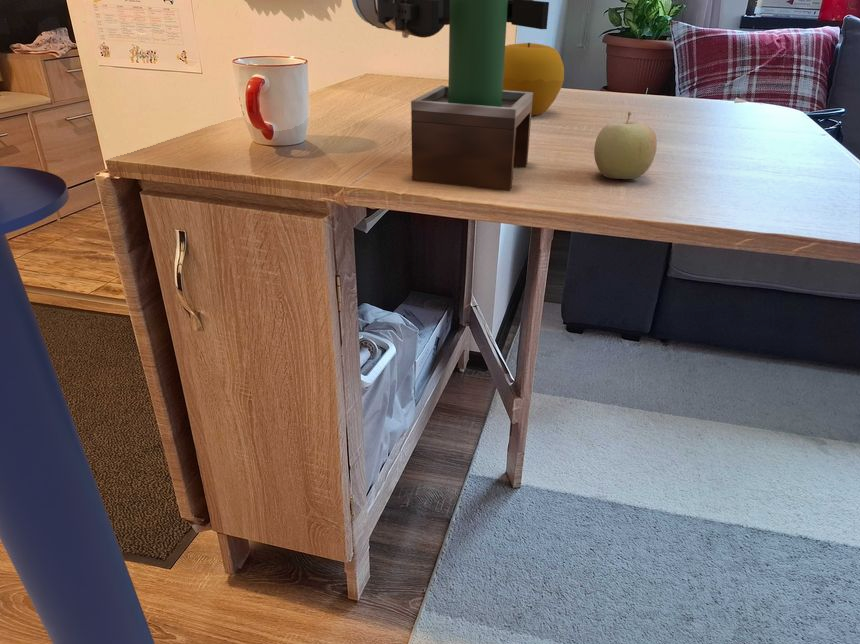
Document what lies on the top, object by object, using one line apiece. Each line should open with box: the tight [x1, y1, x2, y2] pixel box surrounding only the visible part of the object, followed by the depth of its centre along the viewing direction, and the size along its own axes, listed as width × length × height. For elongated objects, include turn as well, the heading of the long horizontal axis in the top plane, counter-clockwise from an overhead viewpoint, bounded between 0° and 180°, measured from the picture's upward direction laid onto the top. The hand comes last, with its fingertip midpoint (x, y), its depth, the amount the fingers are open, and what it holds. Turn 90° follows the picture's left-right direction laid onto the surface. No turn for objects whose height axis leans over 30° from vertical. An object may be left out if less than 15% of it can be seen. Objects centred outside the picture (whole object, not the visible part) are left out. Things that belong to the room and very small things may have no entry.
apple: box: [503, 42, 565, 117], centre depth 111 cm, size 13×13×11 cm
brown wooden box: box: [410, 85, 533, 192], centre depth 77 cm, size 12×12×9 cm
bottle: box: [447, 0, 508, 107], centre depth 71 cm, size 6×6×18 cm
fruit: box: [593, 111, 658, 180], centre depth 78 cm, size 8×7×8 cm
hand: (492, 15), depth 68 cm, fingers open, 13 cm apart
